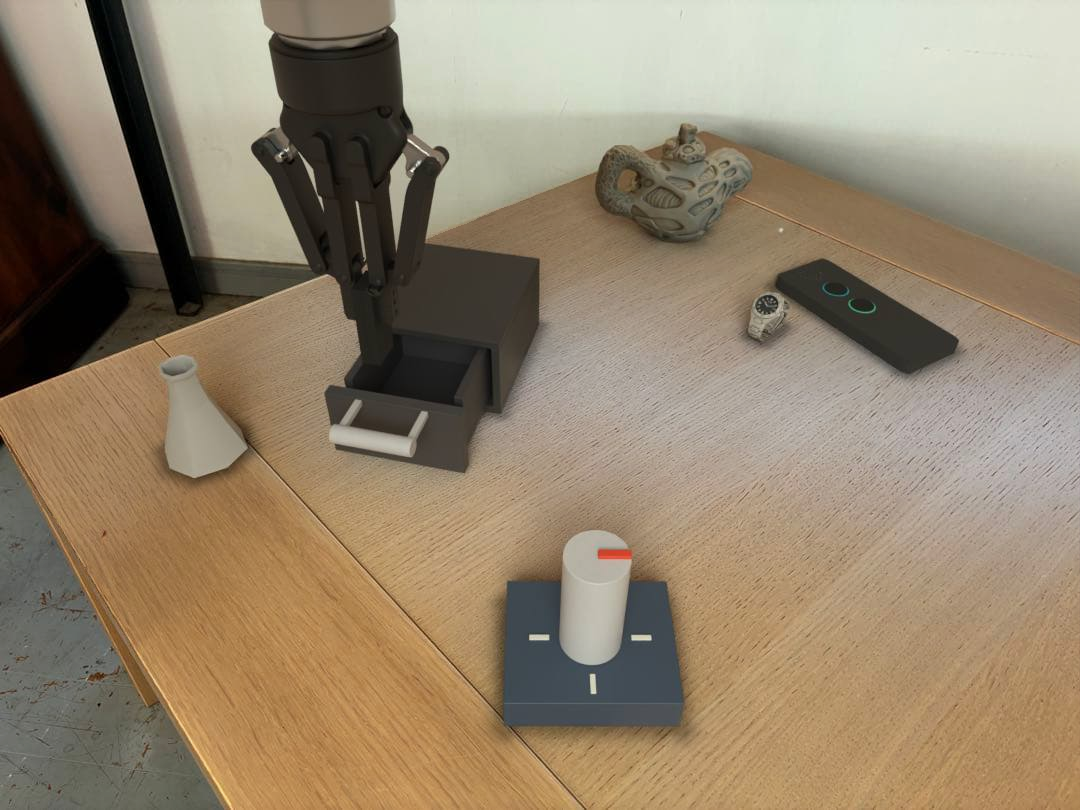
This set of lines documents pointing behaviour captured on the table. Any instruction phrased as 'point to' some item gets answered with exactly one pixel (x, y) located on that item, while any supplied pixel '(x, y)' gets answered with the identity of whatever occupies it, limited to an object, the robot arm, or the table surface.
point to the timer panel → (590, 690)
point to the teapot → (673, 185)
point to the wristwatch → (767, 315)
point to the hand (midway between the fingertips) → (378, 353)
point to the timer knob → (593, 596)
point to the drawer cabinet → (475, 307)
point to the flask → (196, 423)
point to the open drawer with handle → (413, 403)
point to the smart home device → (867, 315)
